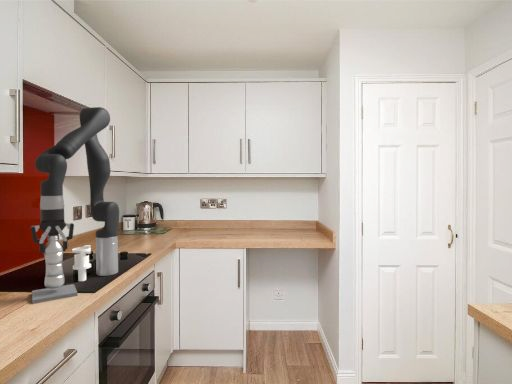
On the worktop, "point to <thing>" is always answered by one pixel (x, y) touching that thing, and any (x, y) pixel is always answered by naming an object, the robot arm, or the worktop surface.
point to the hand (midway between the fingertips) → (53, 251)
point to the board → (53, 293)
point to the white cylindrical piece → (82, 261)
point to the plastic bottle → (53, 262)
